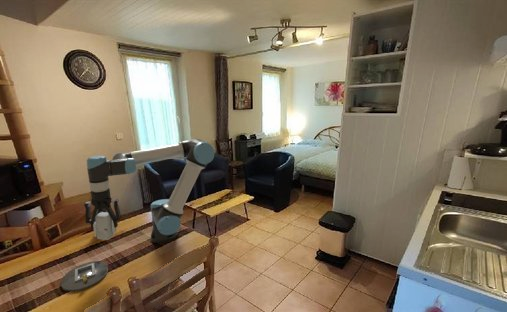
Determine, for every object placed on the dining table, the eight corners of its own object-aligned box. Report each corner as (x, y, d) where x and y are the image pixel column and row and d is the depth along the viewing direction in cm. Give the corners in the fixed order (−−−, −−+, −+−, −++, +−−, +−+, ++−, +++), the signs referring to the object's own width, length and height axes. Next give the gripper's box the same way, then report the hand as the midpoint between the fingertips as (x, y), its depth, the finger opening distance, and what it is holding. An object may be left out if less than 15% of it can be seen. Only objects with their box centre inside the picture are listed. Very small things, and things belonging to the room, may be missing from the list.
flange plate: (106, 259, 123) (104, 249, 122) (109, 279, 109) (108, 269, 108) (62, 273, 113) (60, 263, 112) (60, 298, 99) (57, 287, 97)
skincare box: (96, 239, 113) (93, 215, 110) (103, 234, 117) (101, 211, 114) (108, 240, 112) (105, 216, 109) (115, 235, 116) (112, 212, 113)
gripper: (125, 185, 115) (130, 228, 120) (78, 188, 110) (85, 232, 115) (121, 190, 108) (126, 235, 113) (71, 194, 103) (78, 241, 108)
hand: (105, 234), depth 114 cm, fingers closed on skincare box, 7 cm apart
